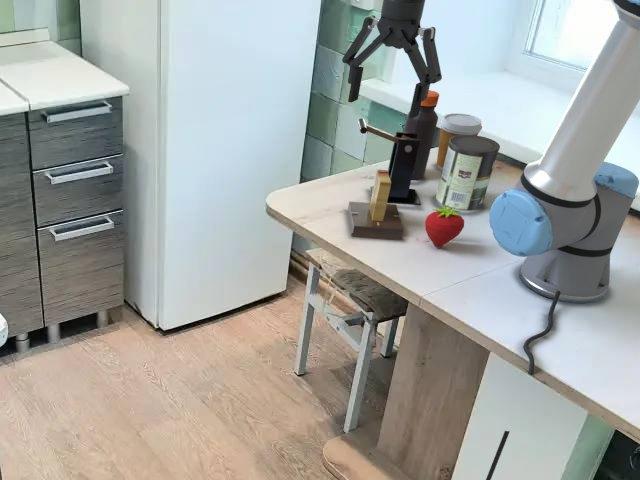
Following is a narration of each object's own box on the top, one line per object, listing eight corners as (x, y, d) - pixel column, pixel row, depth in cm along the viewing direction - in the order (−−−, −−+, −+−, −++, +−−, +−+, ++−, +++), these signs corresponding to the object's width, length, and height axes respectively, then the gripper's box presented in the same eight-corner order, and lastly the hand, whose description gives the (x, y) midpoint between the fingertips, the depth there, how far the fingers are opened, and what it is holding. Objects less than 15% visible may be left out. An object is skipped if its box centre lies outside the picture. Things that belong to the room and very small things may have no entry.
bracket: (373, 205, 178) (386, 141, 169) (369, 191, 184) (382, 127, 175) (419, 209, 177) (435, 143, 168) (413, 193, 183) (429, 130, 174)
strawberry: (460, 255, 160) (473, 209, 154) (421, 253, 160) (433, 207, 154) (454, 242, 164) (466, 196, 158) (416, 239, 165) (428, 194, 159)
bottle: (405, 170, 194) (424, 86, 182) (428, 179, 190) (450, 94, 178) (387, 176, 191) (406, 92, 178) (411, 186, 186) (431, 100, 174)
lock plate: (401, 240, 165) (404, 228, 163) (351, 237, 165) (353, 225, 164) (394, 215, 174) (396, 203, 172) (346, 211, 175) (349, 200, 173)
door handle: (357, 134, 170) (363, 124, 168) (355, 125, 174) (360, 115, 173) (411, 156, 171) (417, 145, 170) (407, 146, 175) (413, 136, 174)
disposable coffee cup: (478, 170, 194) (492, 122, 187) (451, 178, 190) (465, 129, 183) (447, 157, 201) (459, 110, 193) (421, 165, 197) (432, 116, 189)
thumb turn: (382, 221, 166) (391, 181, 160) (372, 220, 166) (380, 180, 161) (379, 209, 170) (388, 169, 165) (369, 208, 171) (377, 169, 165)
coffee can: (473, 194, 183) (490, 134, 175) (488, 214, 175) (507, 152, 166) (428, 193, 183) (443, 133, 175) (441, 213, 175) (457, 151, 166)
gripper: (478, 2, 144) (449, 118, 157) (356, -19, 158) (338, 90, 171) (460, 9, 140) (431, 128, 153) (336, -13, 153) (319, 98, 166)
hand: (382, 108), depth 162 cm, fingers open, 13 cm apart
